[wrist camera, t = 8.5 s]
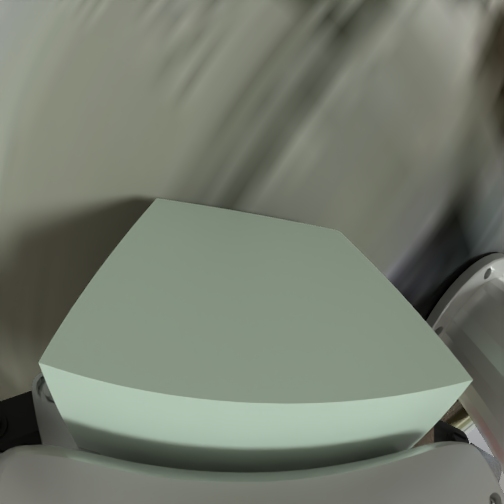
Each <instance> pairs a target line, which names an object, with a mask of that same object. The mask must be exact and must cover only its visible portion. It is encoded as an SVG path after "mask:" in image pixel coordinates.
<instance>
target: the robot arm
mask: <svg viewBox="0 0 504 504" xmlns="http://www.w3.org/2000/svg"><path fill="white" fill-rule="evenodd" d="M426 322H427V323H428V325H429V326H430V327H431V328H432V329H433V330H434V332H435V333H436V334H437V335H438V336H439V338H440V339H441V340H442V341H443V342H444V344H445V345H446V346H447V347H448V348H449V350H450V351H451V352H452V353H453V355H454V356H455V357H456V358H457V360H458V361H459V362H460V363H461V365H462V366H463V367H464V368H465V370H466V371H467V372H468V374H469V375H470V376H471V378H472V379H473V381H472V382H471V383H470V384H469V386H468V387H467V388H466V390H465V391H464V392H463V393H462V394H461V396H460V397H459V398H458V400H459V401H460V403H461V404H462V406H463V407H464V409H465V410H466V412H467V413H468V415H469V416H470V418H471V419H472V421H473V422H474V424H475V426H476V427H477V429H478V430H479V432H480V434H481V435H482V437H483V438H484V440H485V442H486V443H487V445H488V447H489V448H490V450H491V452H492V453H493V455H494V457H493V456H491V455H490V454H488V453H487V452H485V451H483V450H482V449H480V448H479V447H477V446H475V445H474V444H472V443H470V444H469V441H468V438H467V436H466V434H465V433H464V432H463V431H461V430H459V429H458V428H455V427H453V426H451V425H449V424H447V423H445V422H443V421H441V420H439V421H438V422H437V423H436V424H435V425H434V426H433V427H432V428H431V429H430V430H429V431H428V432H427V433H426V434H425V435H424V436H423V437H422V438H421V439H420V440H419V441H418V442H417V443H416V444H415V445H414V446H413V447H412V448H409V449H406V450H402V451H399V452H397V453H393V454H389V455H385V456H381V457H376V458H372V459H368V460H363V461H358V462H353V463H347V464H342V465H335V466H329V467H322V468H314V469H305V470H294V471H280V472H254V473H236V472H209V471H195V470H185V469H176V468H168V467H161V466H154V465H148V464H142V463H136V462H131V461H126V460H121V459H116V458H112V457H108V456H103V455H100V453H98V452H94V451H91V450H87V449H84V448H81V447H78V446H77V444H76V443H75V441H74V439H73V437H72V436H71V434H70V432H69V430H68V428H67V426H66V424H65V422H64V420H63V418H62V416H61V414H60V412H59V410H58V408H57V406H56V404H55V402H54V399H53V397H52V395H51V393H50V390H49V388H48V386H47V383H46V381H45V378H44V376H43V373H42V372H41V373H39V374H38V375H37V376H36V377H35V378H34V380H33V383H32V391H29V392H27V393H24V394H21V395H18V396H15V397H12V398H9V399H6V400H3V401H0V504H504V493H503V491H502V489H501V487H500V485H499V480H500V476H501V471H503V473H504V254H502V253H494V254H490V255H488V256H485V257H483V258H482V259H480V260H479V261H477V262H476V263H474V264H472V265H471V266H470V267H469V268H468V269H467V270H466V271H464V272H463V273H462V274H461V275H460V276H459V277H458V278H457V279H456V281H455V282H454V283H453V284H452V285H451V286H450V287H449V288H448V290H447V291H446V292H445V293H444V295H443V296H442V297H441V298H440V300H439V301H438V303H437V304H436V306H435V307H434V309H433V310H432V312H431V313H430V315H429V317H428V319H427V320H426Z"/></svg>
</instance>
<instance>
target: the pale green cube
mask: <svg viewBox="0 0 504 504" xmlns="http://www.w3.org/2000/svg"><path fill="white" fill-rule="evenodd" d="M39 365H40V368H41V370H42V373H43V376H44V378H45V381H46V383H47V386H48V388H49V390H50V393H51V395H52V397H53V399H54V402H55V404H56V406H57V408H58V410H59V412H60V414H61V416H62V418H63V420H64V422H65V424H66V426H67V428H68V430H69V432H70V434H71V436H72V437H73V439H74V441H75V443H76V444H77V446H78V447H81V448H84V449H87V450H91V451H94V452H98V453H100V455H103V456H108V457H112V458H116V459H121V460H126V461H131V462H136V463H142V464H148V465H154V466H161V467H168V468H176V469H185V470H195V471H209V472H236V473H254V472H280V471H294V470H305V469H314V468H322V467H329V466H335V465H342V464H347V463H353V462H358V461H363V460H368V459H372V458H376V457H381V456H385V455H389V454H393V453H397V452H399V451H402V450H406V449H409V448H412V447H413V446H414V445H415V444H416V443H417V442H418V441H419V440H420V439H421V438H422V437H423V436H424V435H425V434H426V433H427V432H428V431H429V430H430V429H431V428H432V427H433V426H434V425H435V424H436V423H437V422H438V421H439V420H440V419H441V418H442V417H443V415H444V414H445V413H446V412H447V411H448V410H449V409H450V408H451V406H452V405H453V404H454V403H455V402H456V401H457V399H458V398H459V397H460V396H461V394H462V393H463V392H464V391H465V390H466V388H467V387H468V386H469V384H470V383H471V382H472V381H473V379H472V378H471V376H470V375H469V374H468V372H467V371H466V370H465V368H464V367H463V366H462V365H461V363H460V362H459V361H458V360H457V358H456V357H455V356H454V355H453V353H452V352H451V351H450V350H449V348H448V347H447V346H446V345H445V344H444V342H443V341H442V340H441V339H440V338H439V336H438V335H437V334H436V333H435V332H434V330H433V329H432V328H431V327H430V326H429V325H428V323H427V322H426V321H425V320H424V319H423V318H422V317H421V315H420V314H419V313H418V312H417V311H416V310H415V309H414V308H413V306H412V305H411V304H410V303H409V302H408V301H407V300H406V299H405V298H404V296H403V295H402V294H401V293H400V292H399V291H398V290H397V289H396V288H395V287H394V286H393V285H392V284H391V283H390V281H389V280H388V279H387V278H386V277H385V276H384V275H383V274H382V273H381V272H380V271H379V270H378V269H377V268H376V267H375V266H374V265H373V264H372V263H371V262H370V261H369V260H368V259H367V258H366V257H365V256H364V255H363V254H362V253H361V252H360V251H359V250H358V249H357V248H356V247H355V246H354V245H353V244H352V243H351V242H350V241H349V240H348V239H347V238H346V237H345V236H344V235H343V234H342V233H341V232H340V231H339V230H334V229H329V228H324V227H320V226H315V225H310V224H305V223H299V222H294V221H289V220H284V219H279V218H273V217H268V216H263V215H257V214H251V213H246V212H240V211H234V210H229V209H223V208H217V207H211V206H205V205H198V204H192V203H186V202H179V201H173V200H166V199H159V198H156V200H155V201H154V202H153V203H152V204H151V205H150V206H149V208H148V209H147V210H146V211H145V212H144V213H143V215H142V216H141V217H140V218H139V219H138V221H137V222H136V223H135V224H134V225H133V227H132V228H131V229H130V230H129V231H128V233H127V234H126V235H125V236H124V238H123V239H122V240H121V241H120V243H119V244H118V245H117V246H116V248H115V249H114V250H113V252H112V253H111V254H110V255H109V257H108V258H107V259H106V261H105V262H104V263H103V265H102V266H101V267H100V269H99V270H98V271H97V273H96V274H95V275H94V277H93V278H92V280H91V281H90V282H89V284H88V285H87V287H86V288H85V289H84V291H83V292H82V294H81V295H80V297H79V298H78V300H77V301H76V302H75V304H74V305H73V307H72V308H71V310H70V311H69V313H68V314H67V316H66V318H65V319H64V321H63V322H62V324H61V325H60V327H59V328H58V330H57V332H56V333H55V335H54V337H53V338H52V340H51V341H50V343H49V345H48V346H47V348H46V350H45V352H44V353H43V355H42V357H41V359H40V360H39Z"/></svg>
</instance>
